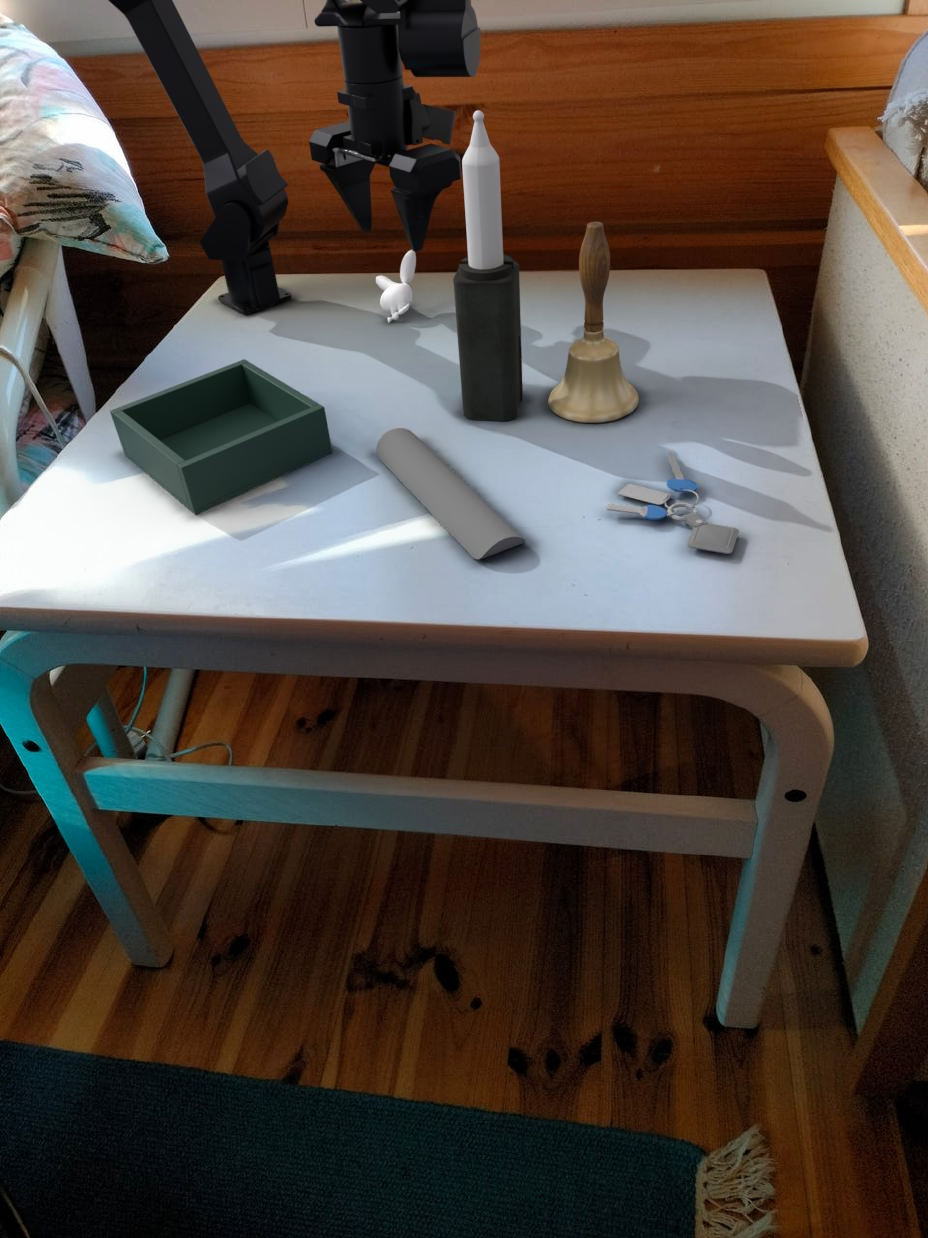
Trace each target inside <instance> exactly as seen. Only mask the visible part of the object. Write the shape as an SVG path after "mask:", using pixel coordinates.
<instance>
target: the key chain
mask: <svg viewBox="0 0 928 1238" xmlns="http://www.w3.org/2000/svg"><path fill="white" fill-rule="evenodd" d="M667 457H668V463H669V464H670V467H671V468H672V473H673V474H674V477H675V478H669V479H668V480H667V481H666V486H667V488H668V489H669V490H671V492H670V493H666V492H663V491H660V490H656V489H653V488H648V487H644V486H640V485H637V484H634V483H633V484H632V483H627V485H625V486H624V487H623V488H622V489H620V490H619V491H618V492H617V493H616V495H619V496H623V497H627V498H630V499H634V500H638V501H641V502H645V503H649V504H645V506H640V505H638V506H632V505H629V504H625V505H623V504H620V505H618V504H615V503H609V504H608V503H607V505H606V506H605V509H606V510H607V511H610V512H618V513H626V514H627V513H628V514H634V515H635V514H636V515H640V516H642V517H643V519H646V520H648V521H659V520H662V519H665V518H666V517H670V518H671V519H673V520H675V521H677V522H684V523H685V524H687V525H688V526H689V527H690V528H691V529H692V530H691V533H690V535H689V538H688V541H687V543H686V545H687V547H688V548H689V549H690V548H691V549H696V550H701V551H702V550H703V551H708V552H713V553H720V554H725V555H731V554H732V553H733V551H734V548H735V545H736V542H737V539H738V536H739V532H740V529H739V528H737V527H732V526H725V525H721V524H720V525H719V524H713V523H708V521H706V520H705V519H703V518H702V517H701V516H700V514H699V512H698V510H697V507H696V505H697V504H699V501H700V496H699V494H698V493H697V492H696V491H697V490H698V483H696V482H695V481H694V480H691V479H688V478H685V477H684V474H683V472H681V467H680V465H679V463H678V462H677V459H676V457H675V456H674V454H673V453H672V452H668V453H667ZM674 493H675V494H676V493H683V494H684V493H686V494H687V493H689V494H690V493H693V494H695V496H696V501H695V502H694V504H690V503H688V502H675V503H673V504H671V505H670V506H669V505H668V503H667V502H668V500H670V498H671V497H672V494H674ZM663 504H664V507H665V508H667V511H666V509H665V508H664V507H661V506H660V505H663ZM678 508H680V509H678ZM681 508H682V509H681ZM687 510H691V511H692V512H690V513H687V514H684V515H681V516H679V515H677V513H678V512H683V511H687Z"/></svg>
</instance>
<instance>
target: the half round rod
mask: <svg viewBox="0 0 928 1238" xmlns="http://www.w3.org/2000/svg"><path fill="white" fill-rule="evenodd" d="M375 450H376V455H377V457H378V459H379V460H380V461H381V462H382V463H383V464H384V466H385V467H386V468H388V469H389V471H391V473H392V474H393V475H394V476H395V477H396V478H397V479H398V480H399V481H400V482H401V483H402V484H403V485H404V487H406V489H408V491H409V492H410V493H411V494H412V495H413V496H414V497H415V498H416V499H417V500H418V501H419V502H420V503H421V504H422V506H423V507H424V508H425V509H426V510H427V511H428V512H429V513H430V514H431V515H432V517H434V518H435V519H436V521H438V522H439V523H440V525H442V526H443V528H444V529H445V530H446V531H447V532H448V533H449V534H450V535H451V536H452V538H454V539H455V541H457V542H458V544H460V546H461V547H462V548H463V549H464V550H465V551H466V552H467V553H468V554H469V555H470V556H471V558H473V559H475V560H483V559H485V558H487V557H490V556H493V555H496V554H498V553H501V552H503V551H506V550H509V549H512V548H514V547H516V546H520V545H522V544H524V543H525V542H526V541H527V540H526V539H525V538H524V536H522V535H521V534H520V533H519V532H518V531H517V530H516V529H515V528H513V527H512V526H511V524H509V523H508V522H507V521H506V519H504V517H502V515H500V514H499V513H498V512H497V511H496V510H495V509H494V508H493V507H492V506H491V505H489V504H488V503H487V502H486V501H485V500H484V499H483V498H482V497H481V496H480V495H479V494H478V493H477V492H476V491H475V490H474V489H473V488H472V487H470V485H469V484H467V483H466V481H465V480H463V478H461V477H460V476H459V475H458V474H457V473H456V472H455V471H454V470H453V469H452V468H451V467H450V466H448V464H447V463H446V462H445V461H444V460H442V459H441V458H440V456H439V455H437V454H436V453H435V452H434V451H433V450H432V449H431V448H430V447H429V446H427V444H426V443H424V441H423V440H421V439H420V438H419V437H418V436H417V435H416V433H414V432H412V430H410V429H408V428H405V427H397V428H392V429H390V430H388V431H386V432H385V433H384V434H383V435H381V437H380V438H379V439H378V440H377V444H376V447H375Z"/></svg>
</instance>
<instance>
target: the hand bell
mask: <svg viewBox="0 0 928 1238" xmlns="http://www.w3.org/2000/svg"><path fill="white" fill-rule="evenodd" d="M610 270H611V253H610V247H609V243H608V239H607V236H606V234H605V229H604V223H603V222H601V221H591V222H588V223H587V224H586V229H585V234H584V237H583V240H582V242H581V246H580V250H579V256H578V271H579V273H578V274H579V280H580V285H581V288H582V291H583V296H584V303H585V304H584V317H583V319H584V320H583V321H584V323H583V328H584V331H583V337H582V338H580V339H577V340H575V341H574V342H573V343H571V344H570V346H569V348H568V352H567V362H566V365H565V366H566V367H565V371H564V374H563V376H562V378H561V381H560V382H559V383H558V384H557V385H556V386H555V387H554V388H553V389H552V391H551V392H550V394H549V396H548V400H547V402H548V403H547V404H548V407H549V409H550V410H551V411H552V412H553V413H554V414H555V415H557V416H558V417H560V418H563V419H565V420H568V421H571V422H576V423H583V424H584V423H585V424H592V423H593V424H599V423H607V422H613V421H616V420H619V419H622V418H624V417H626V416H627V415H629V414H632V412H634V410H635V409H637V408H638V406H639V402H640V400H639V399H640V397H639V394H638V392H637V390H636V389H635V388H634V386H633V385H632V384H631V383H630V382H628V381H627V379H626V377H625V375H624V372H623V369H622V365H621V357H620V347H619V345H618V343H617V342H616V341H614V340H613V339H611V338H608V337H605V335H604V330H605V329H604V327H605V326H604V325H605V324H604V296H605V292H606V289H607V286H608V283H609V277H610V272H611V271H610Z"/></svg>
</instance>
